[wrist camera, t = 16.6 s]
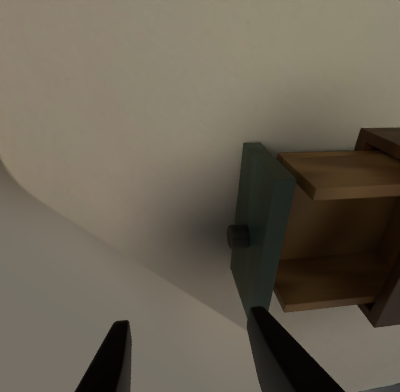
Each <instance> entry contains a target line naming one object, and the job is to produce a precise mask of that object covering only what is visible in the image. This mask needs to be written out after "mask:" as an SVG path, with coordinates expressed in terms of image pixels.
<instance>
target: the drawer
mask: <svg viewBox="0 0 400 392" xmlns="http://www.w3.org/2000/svg"><path fill="white" fill-rule="evenodd" d="M227 240H228V245H229V247H230V248H231V249H232V256H231V265H230V268H231V271H232V274H233V277H234V280H235V283H236V286H237V289H238V292H239V295H240V298H241V301H242V304H243V307H244V310H245V313H246V316H247V319H248V314H249V309H250V308H251V307H255V306H262V307H264V308H265V309H266V310H267V311H268V310H269V305H270V301H271V296H272V292H273V290H274V292H275V294H276V297H277V299H278V301H279V303H280V305H281V307H282V309H283V311H284V312H294V311H303V310H312V309H321V308H330V307H339V306H348V305H357V304H366V303H375V301H376V299H377V297H378V295H379V293H380V291H381V289H382V287H383V285H384V283H385V281H386V279H387V277H388V275H389V273H390V270H391V268H392V266H393V264H394V262H395V260H396V258H397V256H398V254H399V252H400V159H398V158H396V157H394V156H392V155H390V154H388V153H386V152H384V151H382V150H369V151H335V152H300V153H278V158H277V159H276V158H275V157H274V156H273V155H272V154H271V153H270V152H269V151H268V150H267V149H266V148H265V147H264V146H263V145H262V144H261V143H243V152H242V161H241V170H240V180H239V189H238V199H237V208H236V218H235V225H229V226H228V228H227Z"/></svg>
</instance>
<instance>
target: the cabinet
mask: <svg viewBox="0 0 400 392" xmlns="http://www.w3.org/2000/svg"><path fill="white" fill-rule="evenodd" d="M369 150H382V151H384V152H386V153H388V154H390V155H392V156H394V157H396V158H398V159H400V128H361V130H360V133H359V136H358V140H357V143H356V146H355V149H354V151H369ZM357 306H358V307H359V308H360V310H361V311H362V312H363V314H364V315H365V316H366V317H367V319H368V320H369V322H370V323H371V324H372V326H373V327H374V328H376V327H384V326H392V325H400V252H399V254H398V256H397V258H396V260H395V262H394V264H393V266H392V268H391V270H390V273H389V275H388V277H387V279H386V281H385V283H384V285H383V287H382V289H381V291H380V293H379V295H378V297H377V299H376V301H375V303H366V304H357Z"/></svg>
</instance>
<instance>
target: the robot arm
mask: <svg viewBox="0 0 400 392" xmlns="http://www.w3.org/2000/svg"><path fill="white" fill-rule="evenodd" d="M247 331H248V335H249V340H250V344H251V349H252V354H253V358H254V363H255V367H256V372H257V376H258V380H259V384H260V387H261V390H262V392H345V391H344V390H343V389H342V388H341V387H340V386H339V385H338V384H337V383H336V382H335V381H334V380H333V379H332V378H331V377H330V375H329V374H328V373H327V372H326V371H325V370H324V369H323V368H322V367H321V366H320V365H319V364H318V363H317V362H316V361H315V360H314V359H313V358H312V357H311V356H310V355H309V354H308V353H307V352H306V351H305V349H304V348H303V347H302V346H301V345H300V344H299V343H298V342H297V341H296V340H295V339H294V338H293V337H292V336H291V335H290V334H289V333H288V332H287V331H286V330H285V329H284V328H283V327H282V326H281V325H280V323H279V322H278V321H277V320H276V319H275V318H274V317H273V316H272V315H271V314H270V313H269V312H268V311H267V310H266V309H265V308H264V307H262V306H255V307H251V308H250V309H249V314H248V320H247ZM131 340H132V339H131V332H130V325H129V321H128V320H123V321H116V322H114V324H113V325H112V327H111V329H110V330H109V332H108V334H107V336H106V338H105V339H104V341H103V343H102V344H101V347H100V348H99V350H98V352H97V353H96V355H95V357H94V359H93V360H92V362H91V364H90V366H89V368H88V369H87V371H86V373H85V375H84V376H83V378H82V380H81V381H80V383H79V385H78V387H77V388H76V390H75V392H130V384H131V382H130V381H131V346H132V344H131V343H132V341H131Z"/></svg>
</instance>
